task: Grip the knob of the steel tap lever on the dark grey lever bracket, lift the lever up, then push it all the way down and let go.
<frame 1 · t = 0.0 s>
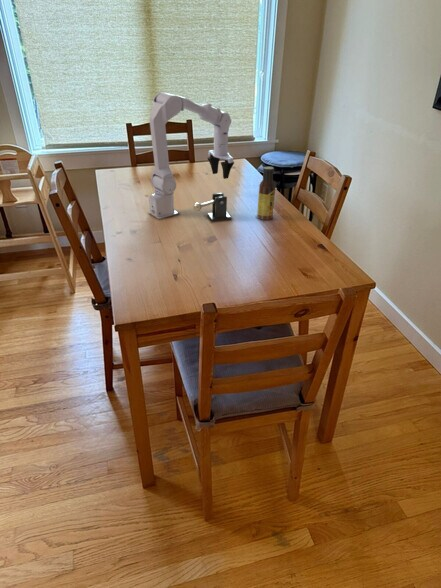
hand: (220, 175, 174), 10 cm above the table, tool pointing down, fingers open, 7 cm apart
tap lever: (208, 203, 157), point 7 cm above the table, hinge at -12.0°
dark grey lever bracket: (219, 217, 162), on the table
sauce bottle: (264, 218, 163), on the table
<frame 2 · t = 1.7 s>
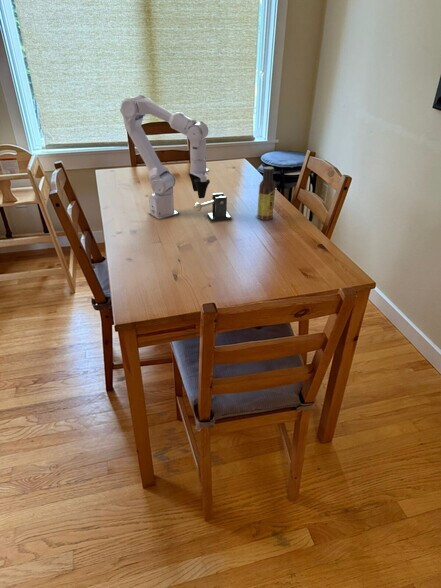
hand: (198, 194, 156), 10 cm above the table, tool pointing down, fingers open, 7 cm apart
nothing on the table moved.
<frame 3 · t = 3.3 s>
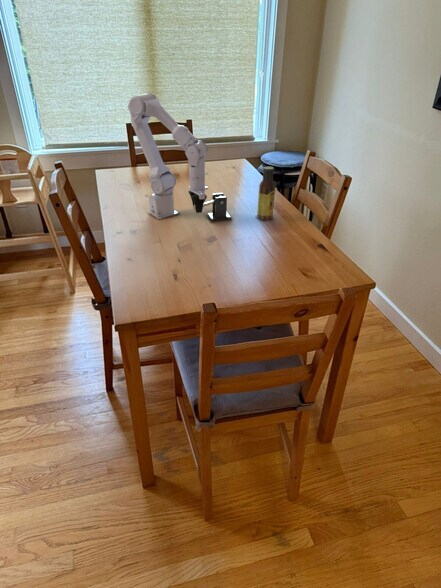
hand: (197, 210, 158), 4 cm above the table, tool pointing down, fingers closed on tap lever, 3 cm apart
tap lever: (208, 203, 157), point 7 cm above the table, hinge at -12.0°, touching gripper
everything else where it was.
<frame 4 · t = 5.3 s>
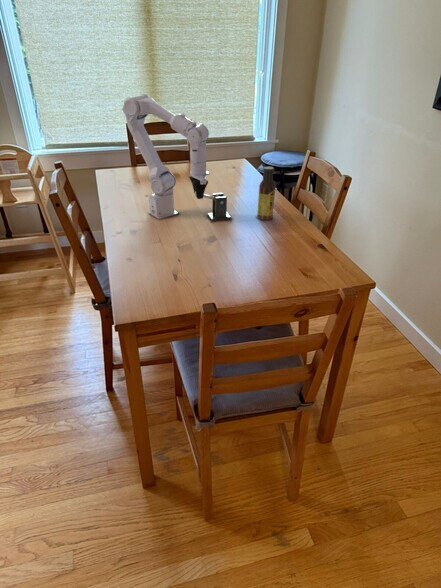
hand: (198, 196, 155), 10 cm above the table, tool pointing down, fingers closed on tap lever, 3 cm apart
tap lever: (209, 196, 156), point 9 cm above the table, hinge at 21.5°, touching gripper
everything else where it was.
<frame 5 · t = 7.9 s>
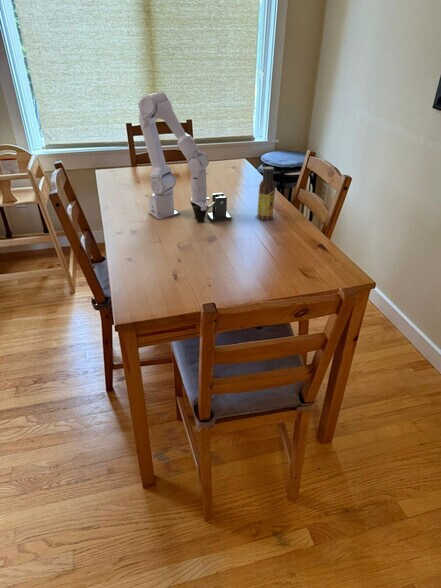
hand: (199, 221, 160), 0 cm above the table, tool pointing down, fingers closed on tap lever, 3 cm apart
tap lever: (209, 206, 158), point 5 cm above the table, hinge at -31.2°, touching gripper
everything else where it was.
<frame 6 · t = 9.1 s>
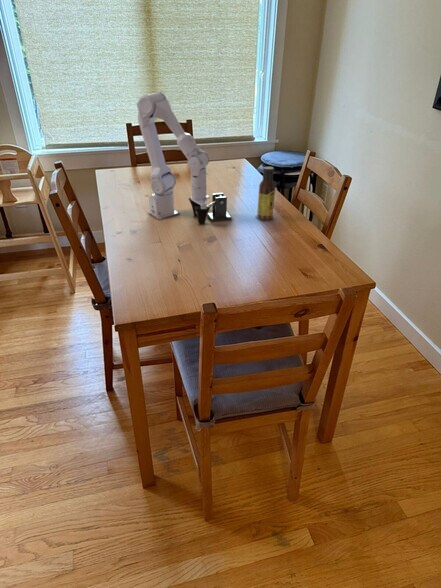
hand: (199, 219, 160), 0 cm above the table, tool pointing down, fingers open, 7 cm apart
tap lever: (209, 205, 158), point 5 cm above the table, hinge at -26.1°
everything else where it was.
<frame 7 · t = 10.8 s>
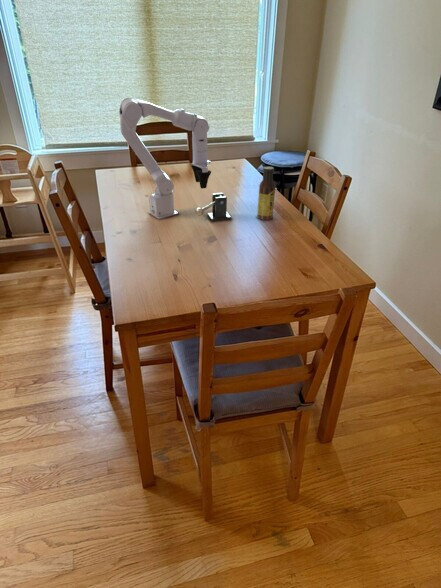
hand: (201, 184, 163), 10 cm above the table, tool pointing down, fingers open, 7 cm apart
nothing on the table moved.
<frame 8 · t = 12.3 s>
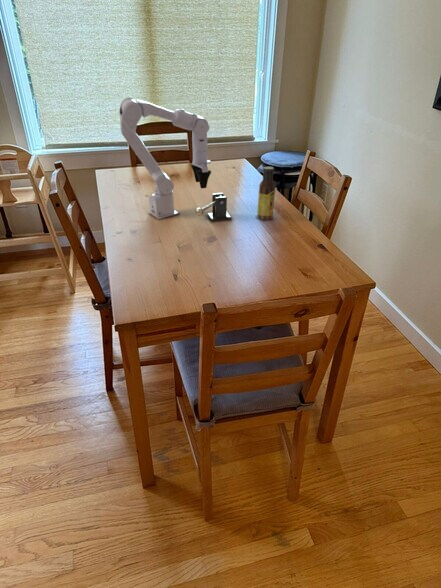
hand: (200, 184, 164), 10 cm above the table, tool pointing down, fingers open, 7 cm apart
nothing on the table moved.
at the end: tap lever reached +22° during the clip, -26° at the end; tap lever at -26° (first picture: -12°) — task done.
